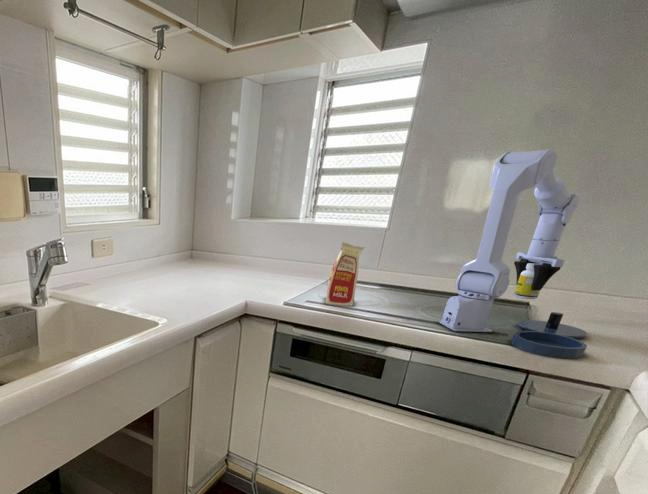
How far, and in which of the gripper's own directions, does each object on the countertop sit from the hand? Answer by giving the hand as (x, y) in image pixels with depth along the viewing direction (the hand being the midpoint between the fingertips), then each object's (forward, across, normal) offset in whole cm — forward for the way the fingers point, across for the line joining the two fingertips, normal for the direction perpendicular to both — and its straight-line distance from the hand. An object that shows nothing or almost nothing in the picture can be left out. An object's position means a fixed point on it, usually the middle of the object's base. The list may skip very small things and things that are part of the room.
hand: (528, 287), depth 118 cm
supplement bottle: (+3, 0, 0) cm, 3 cm away
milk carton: (+9, +13, +48) cm, 50 cm away
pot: (+9, -28, +13) cm, 32 cm away
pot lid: (+8, -14, +2) cm, 17 cm away
